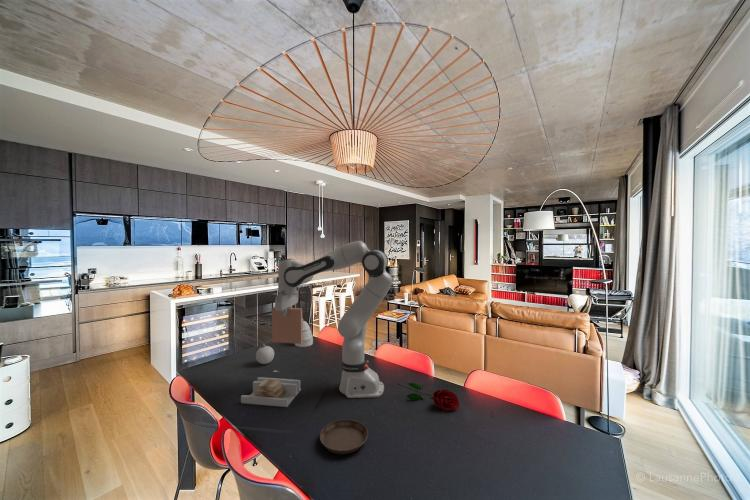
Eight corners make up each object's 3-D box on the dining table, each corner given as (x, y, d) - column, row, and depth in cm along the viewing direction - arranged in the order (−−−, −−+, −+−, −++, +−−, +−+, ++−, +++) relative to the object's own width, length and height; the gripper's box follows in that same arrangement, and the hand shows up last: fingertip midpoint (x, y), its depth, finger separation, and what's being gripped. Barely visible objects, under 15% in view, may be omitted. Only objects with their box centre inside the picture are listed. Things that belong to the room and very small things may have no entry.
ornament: (252, 365, 171) (252, 345, 171) (263, 359, 181) (263, 340, 181) (266, 367, 168) (266, 347, 168) (277, 360, 178) (277, 341, 178)
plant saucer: (344, 420, 118) (344, 413, 118) (377, 439, 107) (377, 431, 107) (309, 443, 105) (309, 435, 105) (343, 467, 94) (343, 458, 93)
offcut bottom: (284, 396, 135) (284, 391, 135) (278, 403, 129) (278, 397, 129) (261, 394, 137) (261, 389, 137) (254, 401, 131) (254, 395, 131)
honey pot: (291, 345, 205) (290, 320, 204) (301, 340, 217) (301, 316, 217) (306, 347, 201) (306, 322, 200) (316, 341, 213) (316, 317, 213)
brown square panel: (302, 342, 151) (302, 308, 150) (301, 343, 149) (300, 309, 148) (274, 340, 153) (273, 307, 153) (272, 342, 151) (271, 308, 151)
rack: (301, 390, 142) (301, 378, 142) (287, 409, 126) (286, 395, 126) (260, 387, 145) (260, 375, 145) (241, 405, 129) (240, 392, 129)
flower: (395, 373, 136) (459, 392, 123) (401, 374, 144) (462, 393, 131) (391, 393, 133) (456, 415, 120) (397, 394, 141) (458, 415, 128)
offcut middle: (282, 390, 135) (282, 385, 135) (276, 397, 129) (276, 392, 129) (263, 389, 137) (263, 384, 137) (256, 396, 131) (256, 390, 131)
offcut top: (280, 385, 135) (280, 380, 135) (274, 392, 129) (274, 387, 129) (265, 384, 136) (265, 379, 136) (258, 391, 130) (258, 385, 130)
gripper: (283, 293, 140) (283, 321, 140) (300, 286, 160) (300, 311, 160) (271, 292, 141) (271, 320, 141) (289, 286, 161) (290, 311, 161)
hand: (287, 315), depth 151 cm, fingers closed on brown square panel, 2 cm apart
